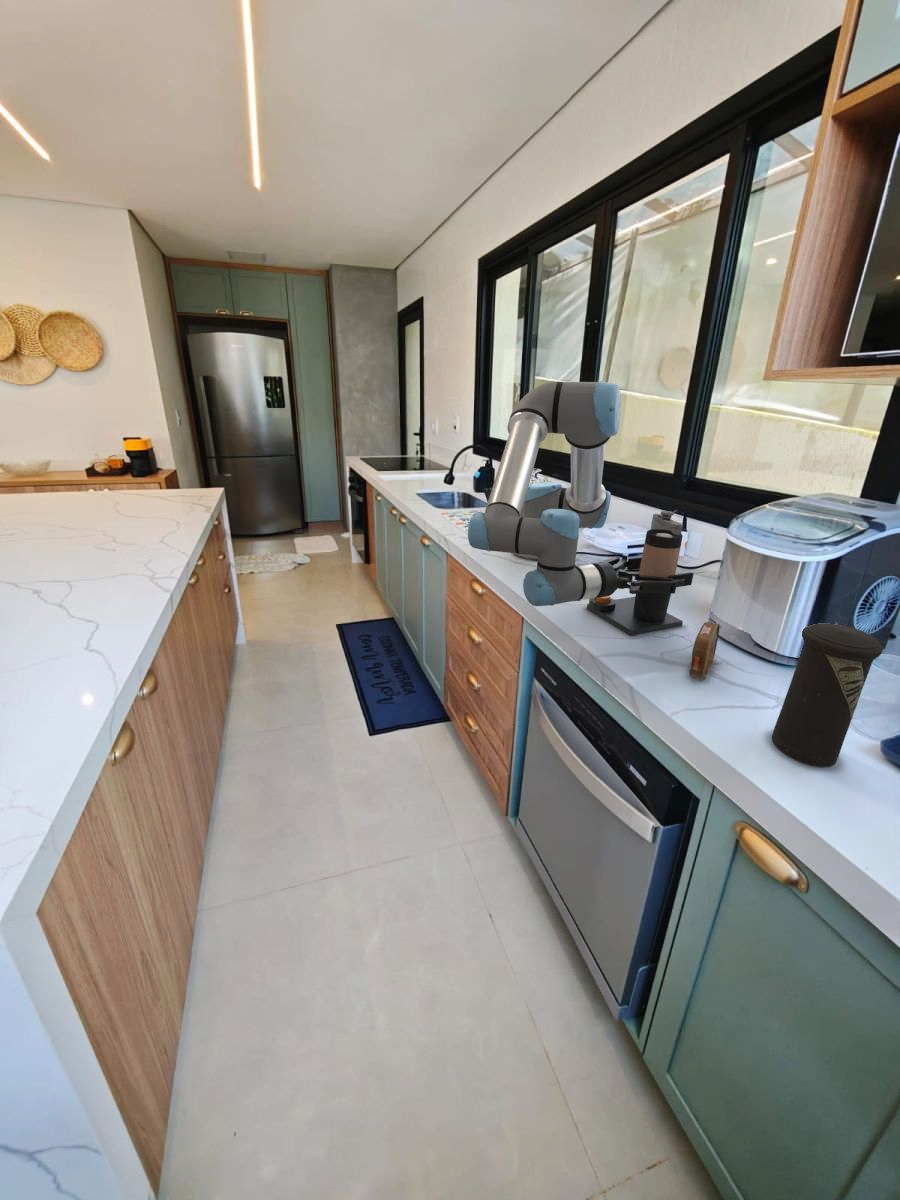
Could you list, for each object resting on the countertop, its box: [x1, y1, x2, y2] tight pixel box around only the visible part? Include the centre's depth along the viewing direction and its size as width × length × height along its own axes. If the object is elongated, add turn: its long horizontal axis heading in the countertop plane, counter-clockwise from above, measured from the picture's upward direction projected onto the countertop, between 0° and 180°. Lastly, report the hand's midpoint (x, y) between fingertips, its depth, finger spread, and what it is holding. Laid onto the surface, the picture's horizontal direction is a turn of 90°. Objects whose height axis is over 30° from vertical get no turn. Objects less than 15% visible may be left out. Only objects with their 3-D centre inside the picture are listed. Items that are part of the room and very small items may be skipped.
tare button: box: [596, 595, 611, 604], centre depth 122 cm, size 3×3×2 cm
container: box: [771, 623, 883, 768], centre depth 73 cm, size 9×9×20 cm
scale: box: [586, 596, 684, 637], centre depth 120 cm, size 16×16×3 cm
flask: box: [650, 510, 684, 535], centre depth 151 cm, size 4×14×18 cm, turn 6°
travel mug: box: [633, 528, 683, 622], centre depth 115 cm, size 8×8×20 cm
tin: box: [688, 621, 720, 681], centre depth 97 cm, size 15×3×8 cm, turn 145°
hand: (669, 569), depth 116 cm, fingers open, 12 cm apart
